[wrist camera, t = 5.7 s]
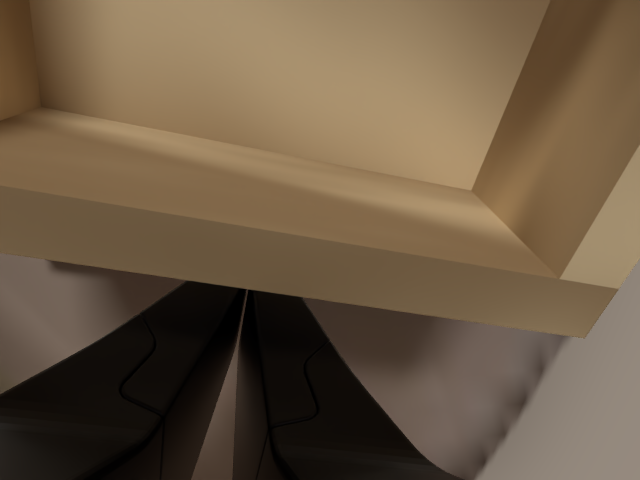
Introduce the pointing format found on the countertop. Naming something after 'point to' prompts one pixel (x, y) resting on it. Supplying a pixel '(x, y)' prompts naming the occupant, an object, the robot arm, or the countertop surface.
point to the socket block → (332, 148)
